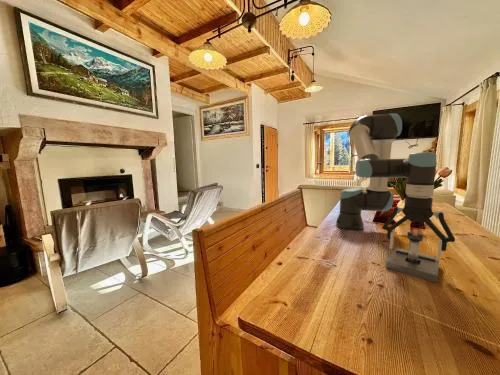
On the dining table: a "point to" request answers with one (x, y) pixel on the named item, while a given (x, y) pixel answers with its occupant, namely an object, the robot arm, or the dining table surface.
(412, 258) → the key
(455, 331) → the dining table surface
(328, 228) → the dining table surface
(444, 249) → the robot arm
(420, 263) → the grey flat square block
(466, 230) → the dining table surface
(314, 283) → the dining table surface
